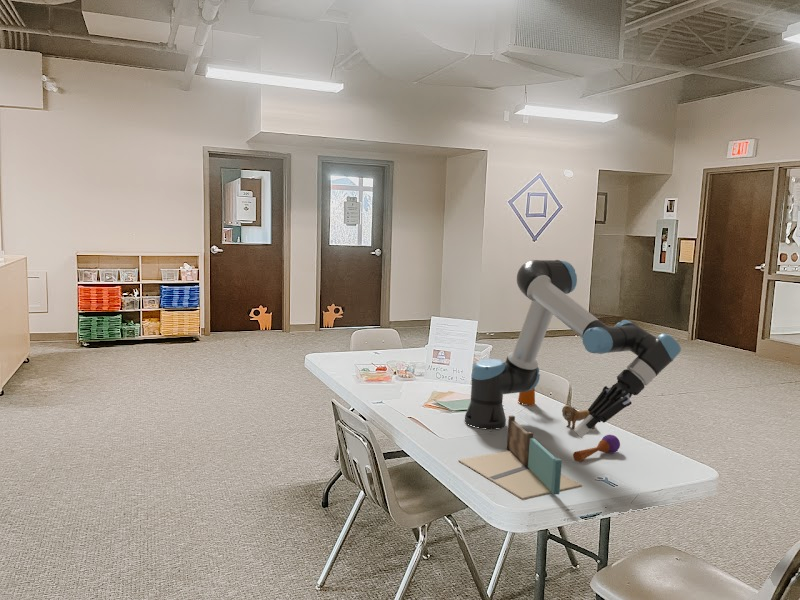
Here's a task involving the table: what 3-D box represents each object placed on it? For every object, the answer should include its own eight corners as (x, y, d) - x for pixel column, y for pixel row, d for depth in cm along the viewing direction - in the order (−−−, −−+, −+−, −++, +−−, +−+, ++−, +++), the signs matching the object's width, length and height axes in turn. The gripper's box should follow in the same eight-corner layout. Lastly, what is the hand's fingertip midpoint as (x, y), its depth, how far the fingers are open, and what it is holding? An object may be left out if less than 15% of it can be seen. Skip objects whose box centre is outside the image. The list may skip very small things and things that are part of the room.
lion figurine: (565, 431, 230) (567, 407, 229) (557, 427, 235) (559, 403, 234) (599, 429, 235) (601, 405, 234) (590, 424, 240) (592, 401, 239)
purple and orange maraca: (568, 446, 203) (607, 431, 215) (570, 464, 203) (609, 449, 215) (583, 448, 198) (622, 433, 210) (586, 467, 199) (624, 451, 210)
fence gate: (526, 466, 191) (529, 436, 190) (532, 466, 192) (534, 436, 191) (553, 494, 172) (555, 460, 171) (559, 494, 173) (561, 460, 171)
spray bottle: (506, 401, 266) (511, 340, 263) (529, 400, 270) (533, 339, 267) (515, 406, 260) (520, 343, 257) (538, 405, 264) (542, 342, 261)
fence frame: (505, 447, 210) (507, 415, 209) (511, 447, 211) (513, 415, 209) (525, 469, 192) (528, 434, 191) (532, 469, 192) (534, 434, 191)
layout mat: (458, 461, 196) (458, 459, 196) (513, 451, 207) (513, 449, 207) (522, 499, 171) (522, 497, 171) (581, 485, 182) (581, 484, 181)
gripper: (655, 392, 180) (596, 450, 179) (631, 380, 192) (575, 435, 191) (639, 373, 178) (579, 432, 177) (616, 363, 191) (560, 418, 190)
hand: (577, 433), depth 184 cm, fingers closed
